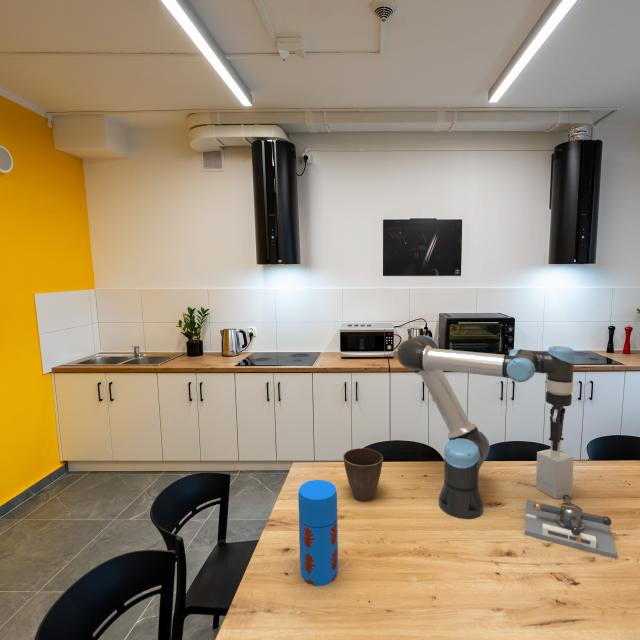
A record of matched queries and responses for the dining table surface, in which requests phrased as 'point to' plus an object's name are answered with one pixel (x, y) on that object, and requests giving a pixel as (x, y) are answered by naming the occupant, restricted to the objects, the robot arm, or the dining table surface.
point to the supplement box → (554, 474)
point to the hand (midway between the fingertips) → (554, 458)
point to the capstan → (571, 515)
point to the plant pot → (363, 472)
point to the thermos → (318, 532)
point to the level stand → (569, 532)
